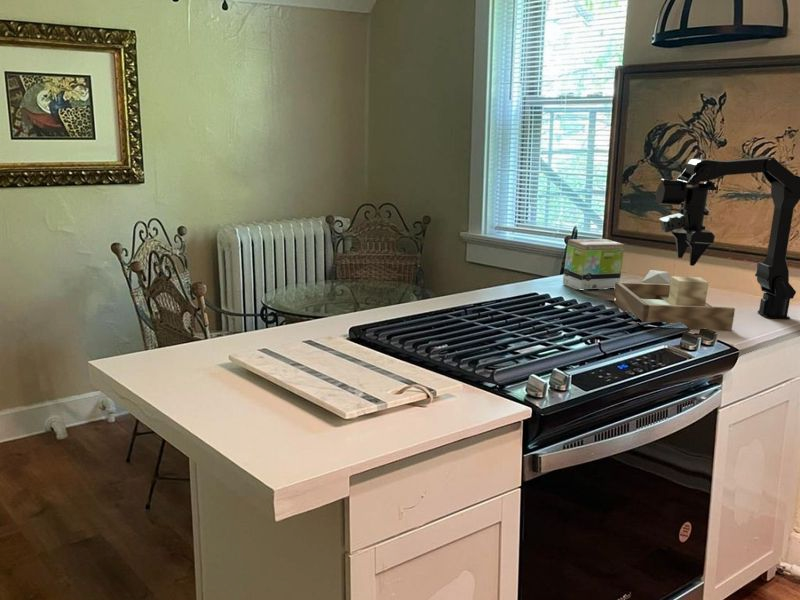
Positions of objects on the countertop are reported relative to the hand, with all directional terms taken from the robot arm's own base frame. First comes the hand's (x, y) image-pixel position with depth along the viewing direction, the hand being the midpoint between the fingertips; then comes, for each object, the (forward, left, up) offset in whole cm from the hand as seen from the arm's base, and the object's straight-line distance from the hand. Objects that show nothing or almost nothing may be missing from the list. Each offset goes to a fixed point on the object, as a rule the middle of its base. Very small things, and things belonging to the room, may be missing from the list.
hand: (685, 261), depth 217 cm
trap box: (+5, +3, -15) cm, 16 cm away
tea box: (+18, -29, -15) cm, 37 cm away
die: (+1, -18, -15) cm, 23 cm away
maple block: (0, +3, -12) cm, 12 cm away
